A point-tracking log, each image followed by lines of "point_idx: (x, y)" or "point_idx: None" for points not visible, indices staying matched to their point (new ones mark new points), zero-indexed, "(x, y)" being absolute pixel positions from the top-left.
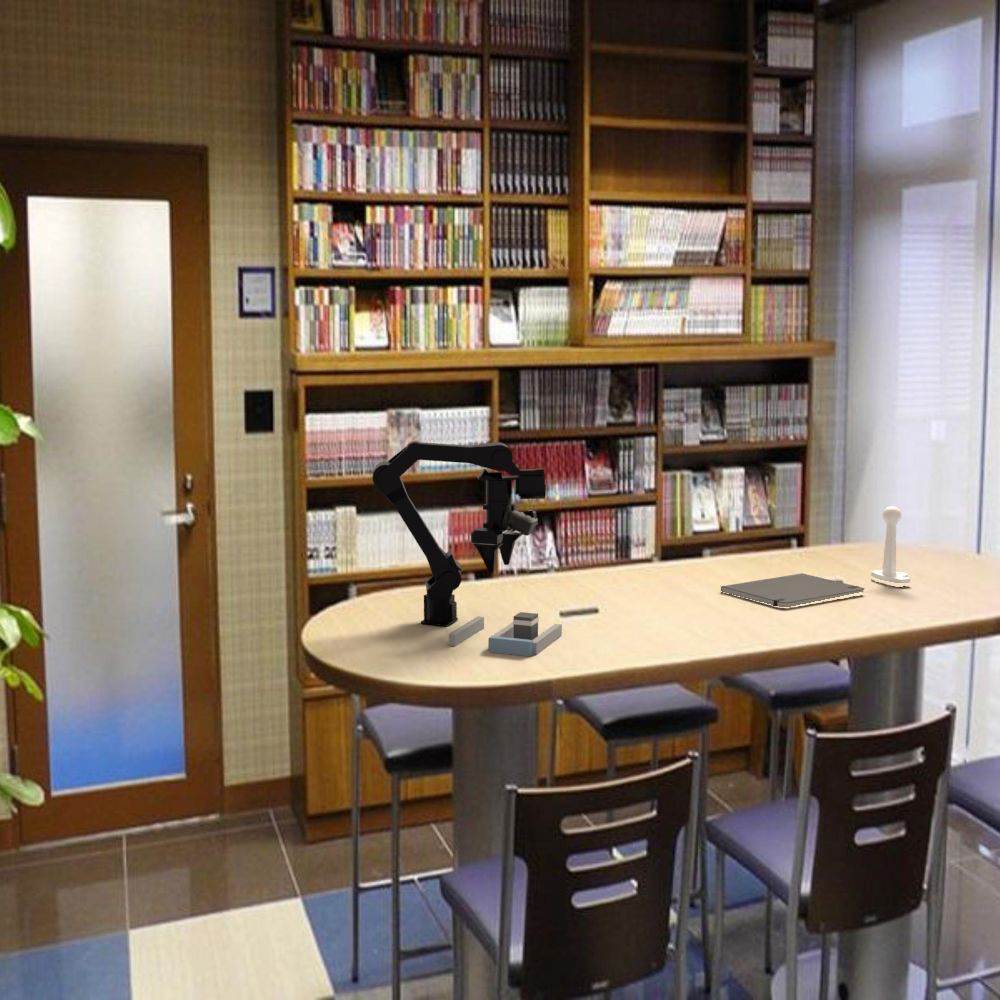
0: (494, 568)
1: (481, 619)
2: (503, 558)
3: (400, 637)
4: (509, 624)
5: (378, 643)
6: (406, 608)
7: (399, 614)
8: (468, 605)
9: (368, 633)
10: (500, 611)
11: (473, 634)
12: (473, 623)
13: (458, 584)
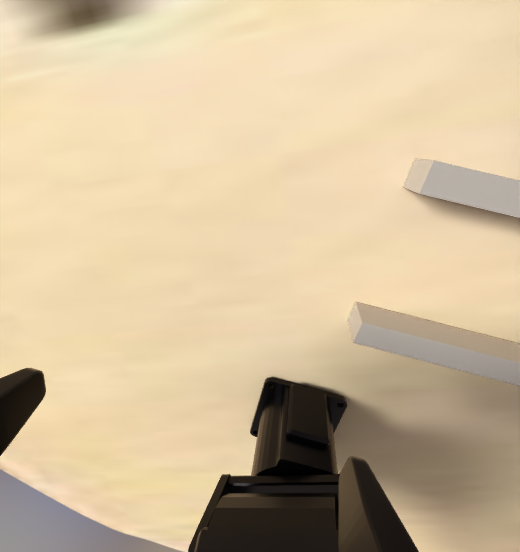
0: (366, 489)
1: (387, 327)
2: (2, 442)
3: (457, 478)
4: (509, 213)
5: (512, 511)
6: (176, 472)
7: None
8: (99, 361)
9: (411, 525)
10: (132, 273)
11: (446, 325)
12: (464, 348)
13: (335, 509)
